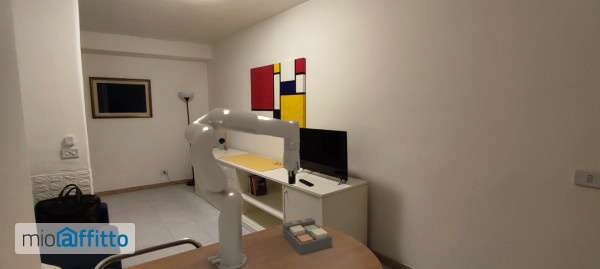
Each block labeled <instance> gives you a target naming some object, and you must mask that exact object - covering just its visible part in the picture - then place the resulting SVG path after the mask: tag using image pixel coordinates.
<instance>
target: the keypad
mask: <svg viewBox="0 0 600 269" xmlns="http://www.w3.org/2000/svg"><path fill="white" fill-rule="evenodd" d="M298 225H301V226H302V227H303V228H304V227H305V226H309V225H315V226H316V227H317V228H321V227H320V226H318V225H317V224H316V220H315V218H313V217H306V218H302V219H298V220H292V221H288V222H283V223H282V236H283V237H282V238H284V240H285V241H286V242H287V243H288V244H289V245H290V246H291V247H292V248H293V249H294V250H295V251H296V252H297V253H298V254H299V255H300V256H304V255H307V254H311V253H315V252H318V251H322V250H326V249H330V248H332V247H333V246H332V245H333V238H332V237H333V236H331V235H330V234H329V233H328V232H327V237H325V238H321V239H316V238H315V237H313V236H312V235H309V236H310V237H312V238H313V241H309V242H305V243H301V242H300V241H299V240H297V236H294V235H293V234H292V233H291V232H290V227H294V226H298ZM305 234H307V233H306V232H305ZM305 234H302V235H305ZM298 236H300V235H298Z"/></svg>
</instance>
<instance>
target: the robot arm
mask: <svg viewBox="0 0 600 269" xmlns="http://www.w3.org/2000/svg"><path fill="white" fill-rule="evenodd" d="M219 129H220V130H225V131H232V132H238V133H243V134H251V135H259V136H271V137H274V138H281V139H282V138H283V153H282V154H283V156H282V167H283V169H285V170H286V171H287V180H288V182H287V183H288V185H291V186H292V185H296V183H297V182H296V180H297V179H296V177H297V175H298V174H299V171H300V170H301V169H300V167H301V160H300V142H301V141H300V140H301V138H300V135H301V134H300V121H298V120H294V119H293V120H290V119H289V120H284V119H278V118H274V117H268V116H265V115H260V114H256V113H250V112H247V111H242V110H237V109H233V108H227V107H226V108H225V107H216V108H213V109H211V110H210V111H208V112H207V113H205V114H203V115H202V116H200V117H199V118H197V119H196V120H194V121H192V122H191V123H189V124H188V125H187V127H186V128H185V129H184V134H183V135H184V136H183V137H184V139H185V140H186V142H188V143H189V144H190V147H189V152H188V153H189V155H188V156H189V161H190V164H191V167H192V168H193V169H194V171H195V174H194V175H195V176H194V179H195V182H196V184H197V186H198V187H199V189H200V190H201V191H202V193H203V194H204V195H205V197H206V198H207V200H208V201H209V203H211V204H212V205H213V206H215V207H216V208H218V209H219V215H218V218H217V219H218V221H217V228H218V251H217V253H216V254H215V255H213V256H212V255H210V256H207V262H208V263H210V262H211V264H215V265H216V268H218V269H240V268H242V267H243V266H245V264H247V259H248V258H247V255H246V254H245V253H243V252H244V251H243V250H244V246H243V245H244V244H243V210H244V209H243V208H244V197H243V195H242V193H241V192H240V191H239V190H237V189H235V188H233V187H231V186H229V184H228V183H229V179H228V176H227V174H226V172H225V171H224V170H223V168H222V167H221V165H220V163H219V162H218V160H217V159H216V157H215V154H214V146H215V143H216V141H217V131H219Z"/></svg>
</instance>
